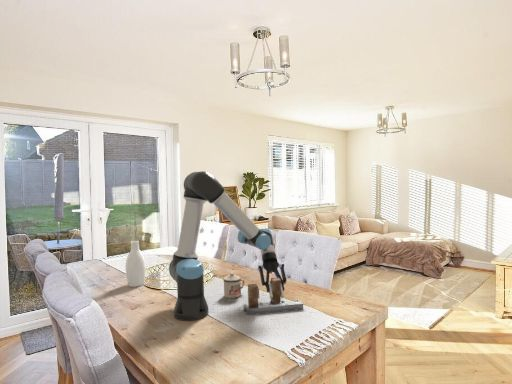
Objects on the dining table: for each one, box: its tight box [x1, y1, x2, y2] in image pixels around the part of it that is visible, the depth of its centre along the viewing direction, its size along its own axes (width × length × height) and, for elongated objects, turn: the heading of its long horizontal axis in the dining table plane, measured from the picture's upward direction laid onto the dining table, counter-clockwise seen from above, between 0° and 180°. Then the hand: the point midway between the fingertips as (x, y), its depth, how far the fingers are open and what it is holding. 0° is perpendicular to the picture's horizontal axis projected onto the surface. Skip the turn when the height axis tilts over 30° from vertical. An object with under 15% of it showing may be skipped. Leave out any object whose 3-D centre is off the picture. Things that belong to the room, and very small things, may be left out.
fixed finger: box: [247, 283, 260, 306], centre depth 153 cm, size 5×4×11 cm
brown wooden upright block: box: [269, 277, 282, 304], centre depth 162 cm, size 5×4×11 cm
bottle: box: [125, 240, 147, 288], centre depth 195 cm, size 11×11×25 cm
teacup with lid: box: [222, 272, 245, 299], centre depth 173 cm, size 12×9×12 cm
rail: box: [243, 298, 304, 315], centre depth 153 cm, size 27×7×2 cm, turn 100°
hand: (277, 297), depth 158 cm, fingers closed on brown wooden upright block, 5 cm apart
